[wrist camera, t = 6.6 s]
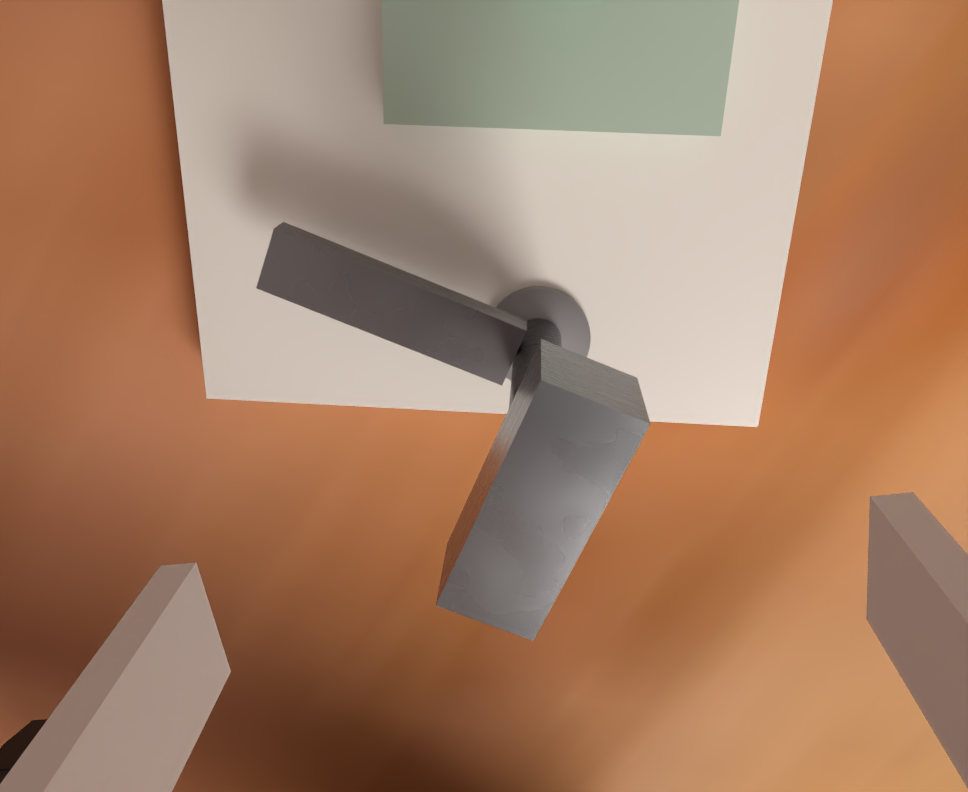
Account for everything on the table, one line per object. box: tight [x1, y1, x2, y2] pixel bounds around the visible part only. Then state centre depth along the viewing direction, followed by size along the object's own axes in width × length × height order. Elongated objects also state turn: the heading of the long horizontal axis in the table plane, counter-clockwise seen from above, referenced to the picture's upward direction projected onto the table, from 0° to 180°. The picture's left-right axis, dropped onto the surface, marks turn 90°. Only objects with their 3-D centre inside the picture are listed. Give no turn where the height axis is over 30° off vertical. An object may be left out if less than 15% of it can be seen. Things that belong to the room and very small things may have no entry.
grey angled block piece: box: [256, 222, 650, 641], centre depth 23 cm, size 10×6×12 cm, turn 68°
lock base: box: [162, 0, 833, 427], centre depth 26 cm, size 23×20×2 cm
